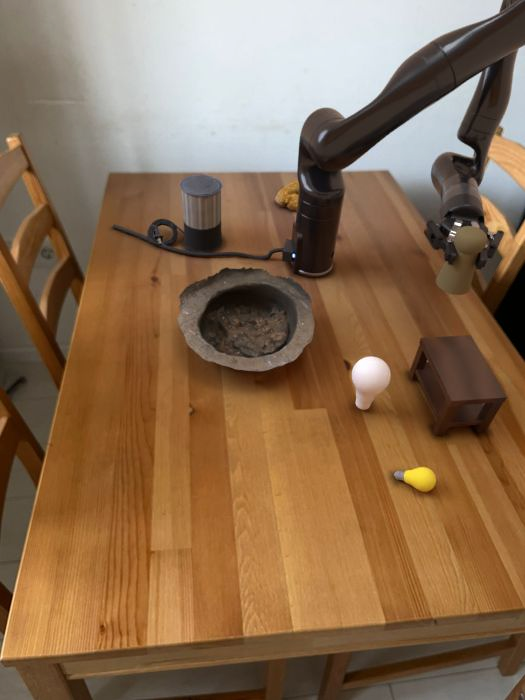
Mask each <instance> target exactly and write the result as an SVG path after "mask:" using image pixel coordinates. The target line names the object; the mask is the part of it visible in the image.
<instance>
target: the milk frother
mask: <svg viewBox="0 0 525 700" xmlns="http://www.w3.org/2000/svg"><path fill="white" fill-rule="evenodd" d="M179 188H180V189H181V204H182V216H183V217H182V218H183V230H182V228H180V227H179V226H178V225H176V223H174V222H173V221H171V220H169V219H167V218H159V219H156V220H153V222H152V223H151V224H150V225H149V226H148V229H147V231H146V232H147V233H146V237H148V240H149V241H150V242H151V243H150V242H149V243H150V244H152V245H154V246H157V247H159V245H161V244H164V245H167V246H171V245H174V244H175V242H176V241H177V239H178V237H179V232H180V233H181V234H183V240H182V241H183V245H184V247H185V249H187V250H188V251H192V252H201V253H214V252H216V251H217V250H219V249H220V248H221V247H223V242H224V241H223V232H222V189H223V183H222V181H221V180H220V179H219V178H217V177H215V176H213V175H208V174H203V173H202V174H193V175H189V176H186V177H185V178H183V179H182V180H180V182H179ZM160 226H166V227H168V228H169V229H170V230H171V231H172V236H171V237H170V238H169V239H166V240H163V238H164V235H163V234H162V233H161V231H160V229H159V227H160Z"/></svg>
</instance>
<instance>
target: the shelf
mask: <svg viewBox="0 0 525 700" xmlns="http://www.w3.org/2000/svg"><path fill="white" fill-rule="evenodd" d="M408 375H409V378H410V380H411V381H415V380H416V381H418V382H419V385H420V387H421V390H422V392H423V394H424V396H425V398H426V401H427V403H428V405H429V407H430V410H431V412H432V414H433V417H434V419H435V421H434V423H433V425H432V427H431V428H432V430H433V433H434V435H435V436H443V435H444V436H445V435H446V433H447V431H448V429H449V428H451V427H466V426H473V428H474V429H475V432H476V433H485V432H487V430H488V429H489V427H490V425H491V424H492V422H493V421H494V419H495V417H496V416H497V413H498V412H499V410H500V408H501V407H502V405H503V404H504V403H505V402H506V401H507V399H508V396H507V393H506V392H505V391H504V389H503V387H502V386H501V384H500V382H499V380H498V379H497V377H496V376H495V375H496V374H494V372H493V370H492V369H491V367H490V365H489V363H488V362H487V360H486V358H485V356H484V355H483V354H482V352H481V350H480V348H479V347H478V345H477V343H476V341H475V340H474V339H473V336H472V335H471V334H464V335H447V336H445V335H443V336H427V337H420V339H419V341H418V347H417V350H416V353H415V355H414V358H413V361H412V364H411V367H410V369H409V372H408Z"/></svg>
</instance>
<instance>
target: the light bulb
mask: <svg viewBox="0 0 525 700" xmlns="http://www.w3.org/2000/svg"><path fill="white" fill-rule="evenodd" d="M393 477H394V478H395V479H396V480H398V481H402V482H404V483H406V484H408V485H410V486H411V487H413V488H415V489H416V490H417V491H419V492H429V491H431V490H433V489H434V488H435V486H436V483H437V477H436V475H435V473H434V472H433V470H432V469H430V468H429V467H426V466H419V467H416V468H413V469H406V470H405V471H404V470H403V471H402V470H396V471H395V472H394V474H393Z"/></svg>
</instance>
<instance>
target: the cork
mask: <svg viewBox="0 0 525 700" xmlns="http://www.w3.org/2000/svg"><path fill="white" fill-rule="evenodd" d="M486 244H487V245H488V239H487V235H486V233H485V232H484V231H483V230H481V229H480V228H477V227H474V226H464V227H462V228H460V229H459V230H458V231H457V232H456V234H455V236H454V245H455V248H456V257H455V260H454V263H453V265H448V262H447V261H445V262H444V264H443V265H442V268H441V269H440V271H439V273H438V275H437V276H436V279H435V284H436V285H437V287H438V289H440V290H442V291H443V292H445V293H447V294H450V295H455V296H460V295H466V294H467V293H469V292H470V290H471V286H472V283H473V279H474V274H475V270H476V265H475V264H476V261H477V258H478V255H479V252H481V251H482V250H483V249H484V248H485V246H486Z"/></svg>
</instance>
